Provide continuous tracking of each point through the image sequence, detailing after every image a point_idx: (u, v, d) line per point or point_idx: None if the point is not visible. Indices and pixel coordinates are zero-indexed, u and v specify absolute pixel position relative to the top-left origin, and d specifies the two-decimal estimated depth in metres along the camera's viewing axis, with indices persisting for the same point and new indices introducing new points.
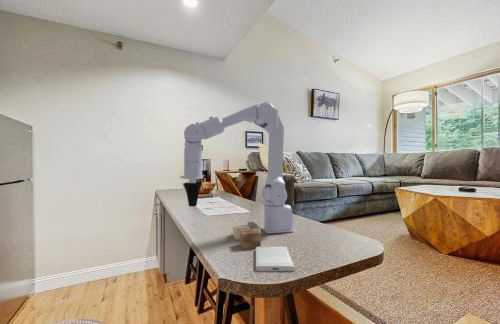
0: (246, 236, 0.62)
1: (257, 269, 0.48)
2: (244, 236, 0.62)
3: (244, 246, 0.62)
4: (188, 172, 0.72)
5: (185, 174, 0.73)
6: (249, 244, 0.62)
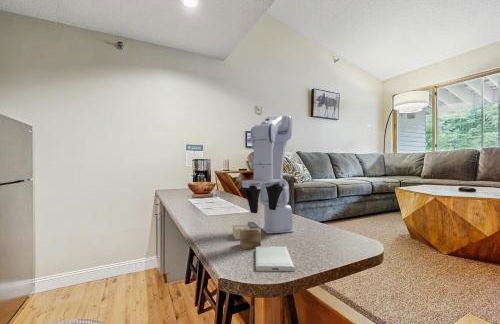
0: (246, 236, 0.62)
1: (257, 269, 0.48)
2: (244, 236, 0.62)
3: (244, 246, 0.62)
4: (254, 175, 0.67)
5: None
6: (249, 244, 0.62)
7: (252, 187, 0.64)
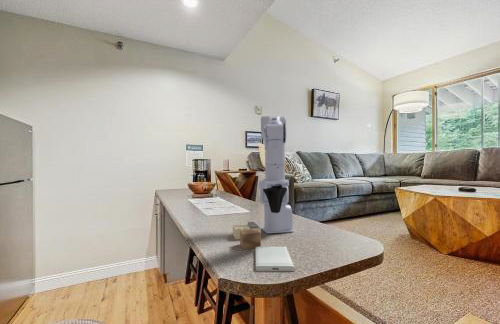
0: (246, 236, 0.62)
1: (257, 269, 0.48)
2: (244, 236, 0.62)
3: (244, 246, 0.62)
4: (266, 175, 0.65)
5: (265, 178, 0.67)
6: (249, 244, 0.62)
7: (269, 188, 0.62)
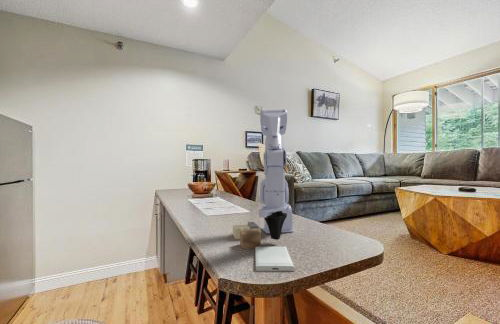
0: (246, 236, 0.62)
1: (257, 269, 0.48)
2: (244, 236, 0.62)
3: (244, 246, 0.62)
4: (266, 202, 0.65)
5: (265, 204, 0.67)
6: (249, 244, 0.62)
7: (268, 216, 0.62)
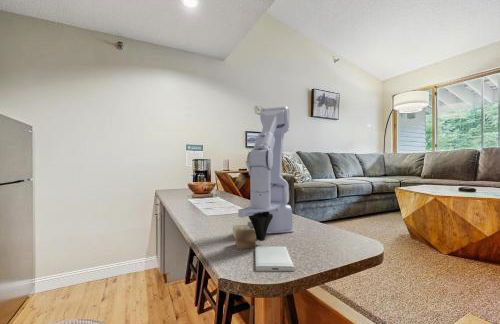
0: (241, 236, 0.62)
1: (257, 269, 0.48)
2: (239, 235, 0.62)
3: (238, 246, 0.62)
4: None
5: None
6: (243, 244, 0.62)
7: None
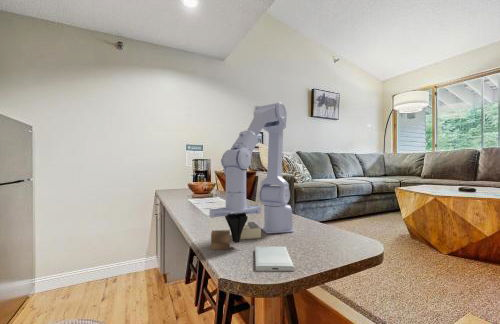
0: (215, 236, 0.62)
1: (257, 269, 0.48)
2: (212, 236, 0.62)
3: (212, 247, 0.61)
4: None
5: None
6: (217, 245, 0.62)
7: None
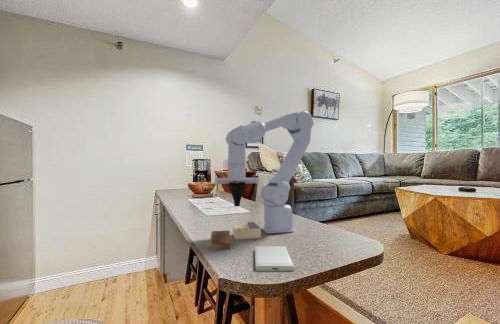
0: (215, 237, 0.62)
1: (257, 269, 0.48)
2: (212, 237, 0.61)
3: (212, 247, 0.61)
4: None
5: None
6: (217, 245, 0.62)
7: None
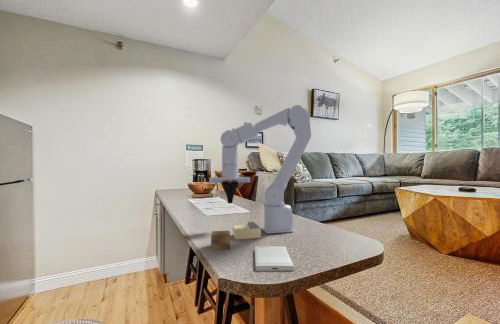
0: (215, 237, 0.62)
1: (257, 269, 0.48)
2: (212, 237, 0.61)
3: (212, 247, 0.61)
4: None
5: None
6: (217, 245, 0.62)
7: None
